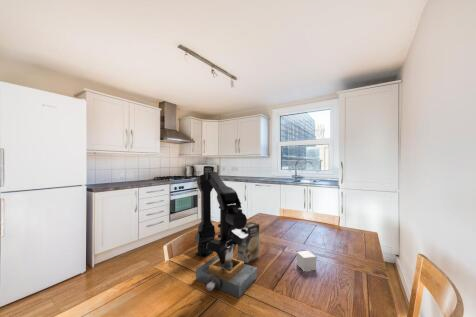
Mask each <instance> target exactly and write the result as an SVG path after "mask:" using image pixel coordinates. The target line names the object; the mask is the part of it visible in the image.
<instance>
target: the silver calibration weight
mask: <svg viewBox="0 0 476 317" xmlns="http://www.w3.org/2000/svg"><path fill="white" fill-rule="evenodd" d="M226 247H227V248H229V249H228V250H227V251H226V254H225V262H224V264H222V263H221V267H223V268H230V267H232V266H233V258H234V253H233V247H234V244H232V245H230V244H226Z"/></svg>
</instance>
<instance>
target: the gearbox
mask: <svg viewBox="0 0 476 317" xmlns="http://www.w3.org/2000/svg"><path fill="white" fill-rule="evenodd" d="M257 279H258V267H256V266H254V265H249V264H248V263H247V264H246V263H245V262H244V261H241V260H239V259H238V258H234V257H233V266H232V267H230V268H223V267H221V261H220V259H219V257H218V255H216V256H214V257H213V258H211V259H209V260H207V261H206V262H205V263H204V264H202V265H200V266H199V267H197V268H195V281H196V280H197V281H198V282H201V283H203V284H206V290H207V292H211V291H213V290H214V291H219V290H220V291H222V292H224V293H227V294H229V295H230V296H231V295H232V296H234V297H236V298H241V296H242V295H243V294H244V293H245V292H246V291H247V290H248V289H249V287H250V286H251V285H252V284H253V283H254V282H255V281H256V280H257Z"/></svg>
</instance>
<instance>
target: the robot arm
mask: <svg viewBox="0 0 476 317" xmlns="http://www.w3.org/2000/svg"><path fill="white" fill-rule="evenodd" d="M196 184H197V188H198V190H199V191H200V200H201V201H200V210H201V211H200V214H201V219H200V220H201V221H200V223H199V226H198V227H197V232H196V234H195V236H194V240H195V243H196V244H197V252H195V255H197V256H200V257H203V258H207V257H208V256H210V255H212V254H213V253H215V254H217V255H218V257H219V259H220V261H221V263H222V264H224V262H225V254H226V251H227V250H228V249H229V248H227V247H226V244H230V245H232V244H234V247H233V254H234V253H235V249H236V246H238V245H239V246H241V245H242V244H244V243H245V242H246V239H247V238H248V237H249V236H248V235H249V234H248V229H247V228H244V229H242V228H243V227H244V226H245V225H246V223H248V219H247V218H248V217H247V215H246V214H245V213H243V209H242V203H241V200H240V198H239V196H238V193H237V191H236V190H235V189H234V188H232V187H229V186H227V184H226V183H225V182H224V181H223V179H221V177H220V176H219V175H218V171H217V172H216V171H207V172H204V173H203V174H201V175H199V176H197V178H196ZM213 190H214V191H215V192H216V194H217V195H216V200H217V202H218V203H217V204H219V206H218V209H220V212H219V215H220V216H219V223H218V224H217V228H219V234H217V238H216V229H215V225H214V224H213V222H212V218H211V217H212V216H211V214H212V211H211V210H212V207H211V206H212V204H211V203H212V202H211V198H212V197H211V196H212V195H211V192H212V191H213ZM239 229H240V230H239ZM241 229H242V230H241ZM217 255H216V256H217Z"/></svg>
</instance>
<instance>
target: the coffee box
mask: <svg viewBox="0 0 476 317" xmlns="http://www.w3.org/2000/svg"><path fill="white" fill-rule="evenodd" d="M244 228H247V229H248V234H249V235H248V236H249V237H248V238H247V239H246V242H245V243H244V244H242V245H241V246H239V245H237V254H236V255H237V257H236V259H237V260H240V261H244V264H246V263H247V264H248V263H249V262H252V261H254V260H256V259H257V258H260V224H259V223H256V222H251V221H250V222H249V221H247V223H246V225H245V226H244V227H243V228H242V229H244ZM242 229H241V230H242ZM239 230H240V229H239Z"/></svg>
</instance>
